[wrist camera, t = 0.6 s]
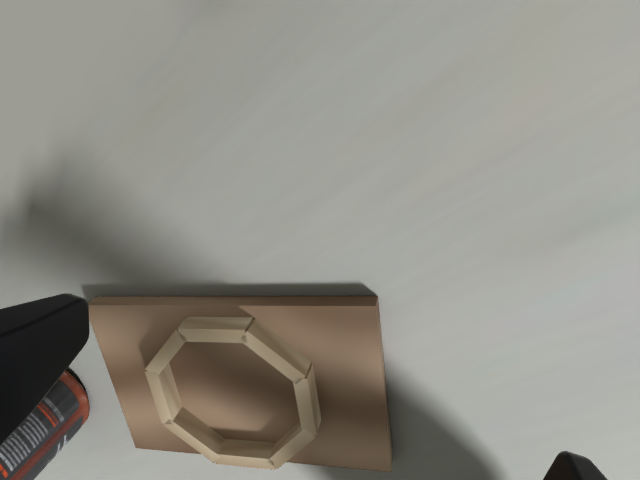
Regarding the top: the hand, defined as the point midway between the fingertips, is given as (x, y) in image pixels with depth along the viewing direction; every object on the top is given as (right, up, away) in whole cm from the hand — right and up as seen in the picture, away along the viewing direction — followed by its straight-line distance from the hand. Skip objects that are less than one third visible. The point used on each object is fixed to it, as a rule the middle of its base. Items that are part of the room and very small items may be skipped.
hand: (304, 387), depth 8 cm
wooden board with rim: (-4, -5, +19) cm, 20 cm away
